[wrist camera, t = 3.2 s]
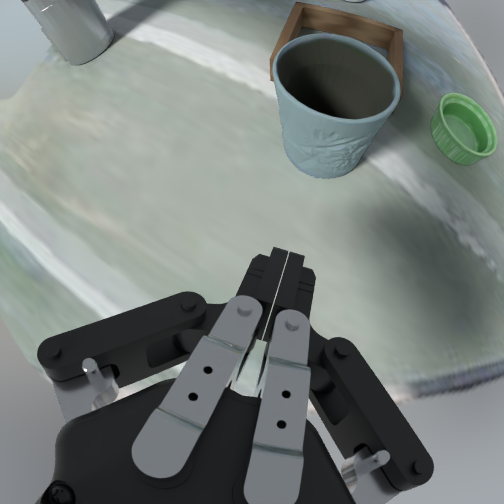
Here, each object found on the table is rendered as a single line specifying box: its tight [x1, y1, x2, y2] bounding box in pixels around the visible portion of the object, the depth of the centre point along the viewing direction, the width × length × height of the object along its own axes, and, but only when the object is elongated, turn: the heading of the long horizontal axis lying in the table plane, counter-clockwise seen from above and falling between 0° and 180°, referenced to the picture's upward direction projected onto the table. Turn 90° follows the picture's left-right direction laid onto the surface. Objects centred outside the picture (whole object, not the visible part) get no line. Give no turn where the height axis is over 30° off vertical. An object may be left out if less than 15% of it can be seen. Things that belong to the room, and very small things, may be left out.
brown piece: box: [270, 2, 403, 114], centre depth 31 cm, size 15×14×4 cm
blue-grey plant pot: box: [272, 33, 401, 179], centre depth 25 cm, size 10×10×12 cm
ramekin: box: [431, 93, 497, 165], centre depth 28 cm, size 9×9×4 cm
